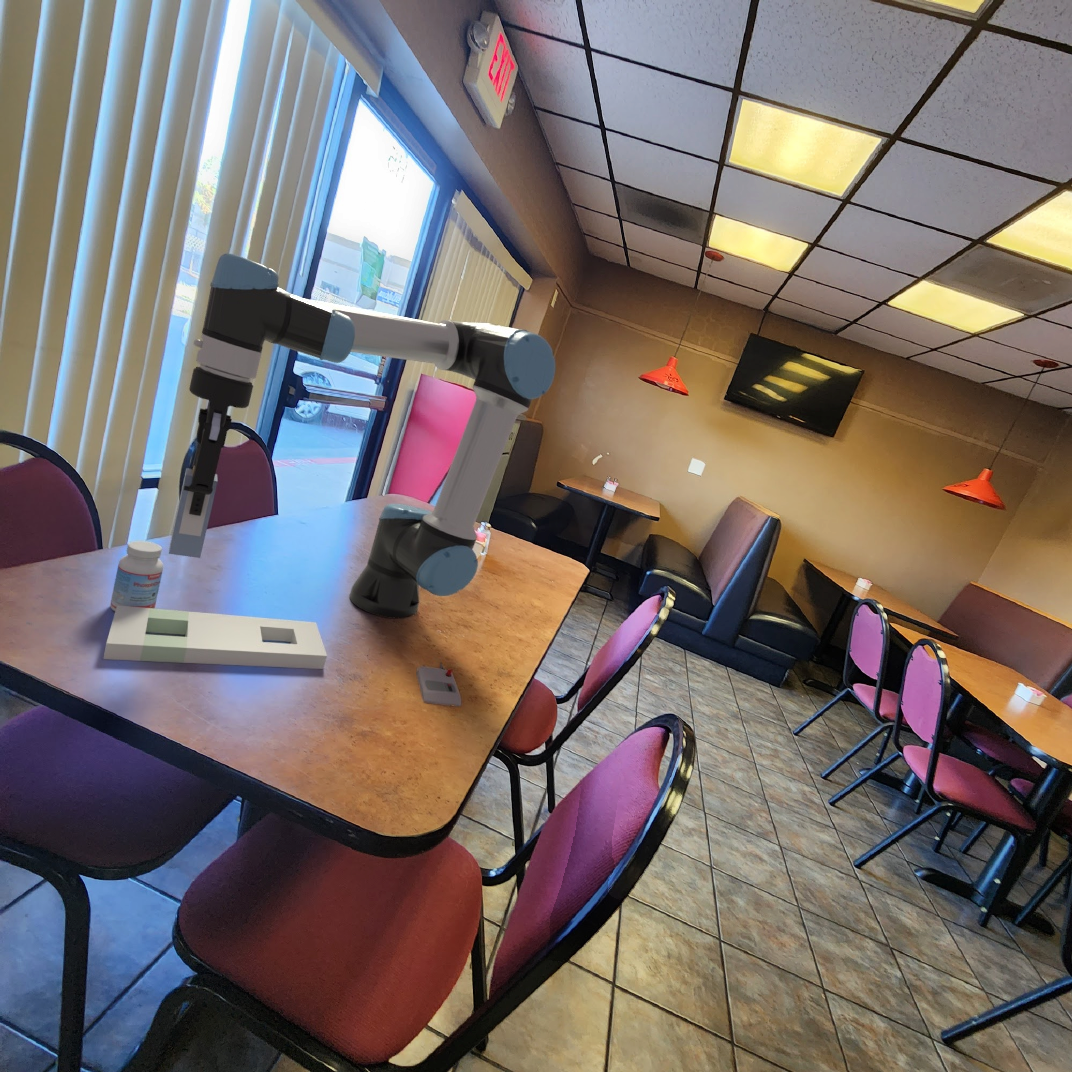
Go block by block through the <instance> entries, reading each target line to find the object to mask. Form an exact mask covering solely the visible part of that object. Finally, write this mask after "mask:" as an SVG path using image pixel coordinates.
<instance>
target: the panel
mask: <svg viewBox="0 0 1072 1072" xmlns="http://www.w3.org/2000/svg"><path fill="white" fill-rule="evenodd" d="M147 633H155V634H147ZM160 634H167V635H160ZM168 634H171V635H168ZM175 635H176V636H175ZM177 635H182V636H177ZM264 641H265V642H264ZM268 641H273V642H268ZM284 642H287V643H284ZM288 642H290V643H288ZM327 657H328V653H327V652H326V648H325V645H324V643H323V640H322V636H321V633H320V630H319V627H318V624H317V622H313V621H302V620H291V619H290V620H289V619H281V618H280V619H279V618H268V617H267V618H266V617H256V616H246V615H244V616H243V615H233V614H223V613H222V614H221V613H210V612H199V611H186V610H176V609H163V608H155V609H154V608H142V607H131V606H119V605H117V608H116V611H114V615H113V618H112V622H111V626H110V629H109V633H108V636H107V639H106V643H105V648H104V654H103V660H113V661H131V662H132V661H134V662H135V661H137V662H159V663H162V662H163V663H180V664H181V663H182V664H202V665H204V664H206V665H224V666H225V665H226V666H245V667H246V666H247V667H269V668H270V667H271V668H290V669H291V668H292V669H314V670H324V668H325V664H326V661H327Z"/></svg>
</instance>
